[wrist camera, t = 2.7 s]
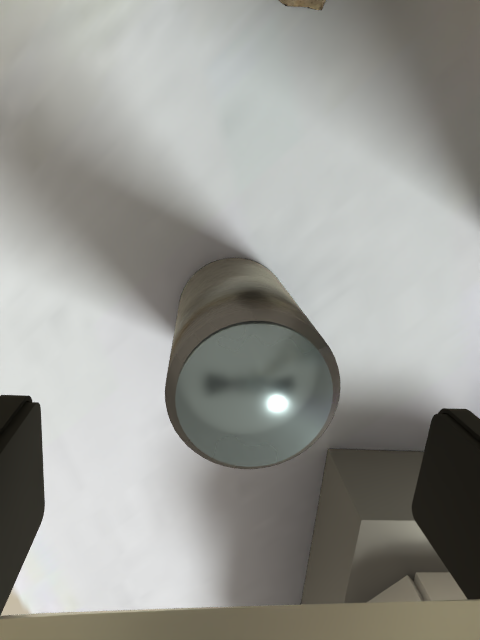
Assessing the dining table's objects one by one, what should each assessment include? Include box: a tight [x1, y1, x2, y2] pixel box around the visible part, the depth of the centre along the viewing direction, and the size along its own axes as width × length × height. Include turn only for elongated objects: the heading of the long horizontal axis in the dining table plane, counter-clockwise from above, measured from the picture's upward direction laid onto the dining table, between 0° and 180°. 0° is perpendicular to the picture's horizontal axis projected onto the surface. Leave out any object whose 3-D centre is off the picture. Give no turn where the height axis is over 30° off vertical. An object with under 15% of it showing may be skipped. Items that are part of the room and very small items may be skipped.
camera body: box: [301, 449, 468, 604], centre depth 22 cm, size 14×9×7 cm, turn 175°
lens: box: [165, 258, 340, 469], centre depth 16 cm, size 5×5×8 cm
